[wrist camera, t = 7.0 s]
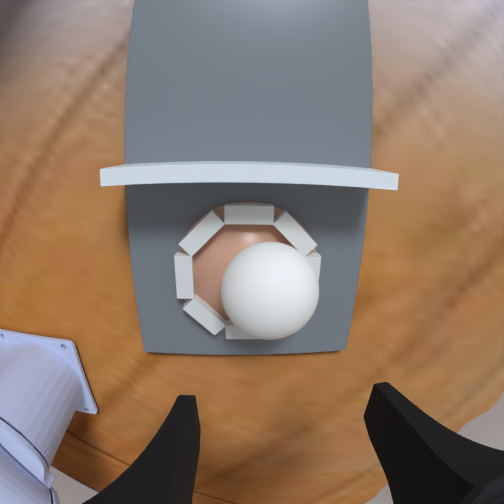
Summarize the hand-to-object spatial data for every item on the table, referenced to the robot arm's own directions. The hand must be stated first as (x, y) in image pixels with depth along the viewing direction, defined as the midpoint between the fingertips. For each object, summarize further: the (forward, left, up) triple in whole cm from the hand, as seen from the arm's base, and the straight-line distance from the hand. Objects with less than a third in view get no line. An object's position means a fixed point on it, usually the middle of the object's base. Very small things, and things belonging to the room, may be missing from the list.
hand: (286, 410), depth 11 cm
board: (-1, +8, -9) cm, 13 cm away
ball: (0, +2, -6) cm, 6 cm away
